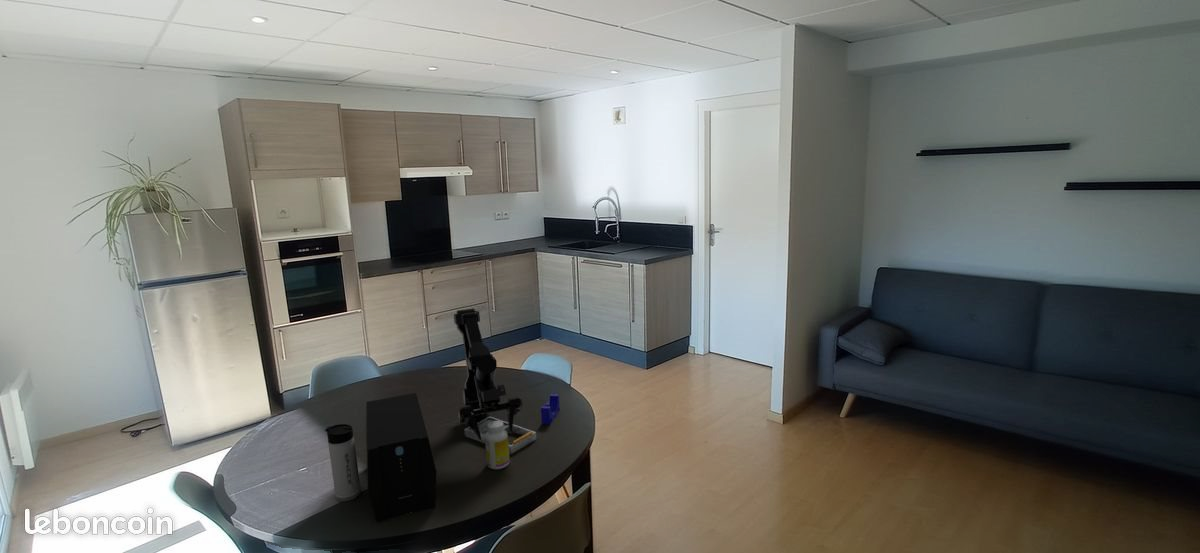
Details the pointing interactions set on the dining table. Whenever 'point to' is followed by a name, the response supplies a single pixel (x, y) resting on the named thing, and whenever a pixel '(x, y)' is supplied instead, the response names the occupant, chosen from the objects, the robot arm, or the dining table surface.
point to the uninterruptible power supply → (398, 458)
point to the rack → (526, 434)
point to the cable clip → (550, 409)
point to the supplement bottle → (496, 445)
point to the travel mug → (343, 462)
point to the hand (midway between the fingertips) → (496, 436)
